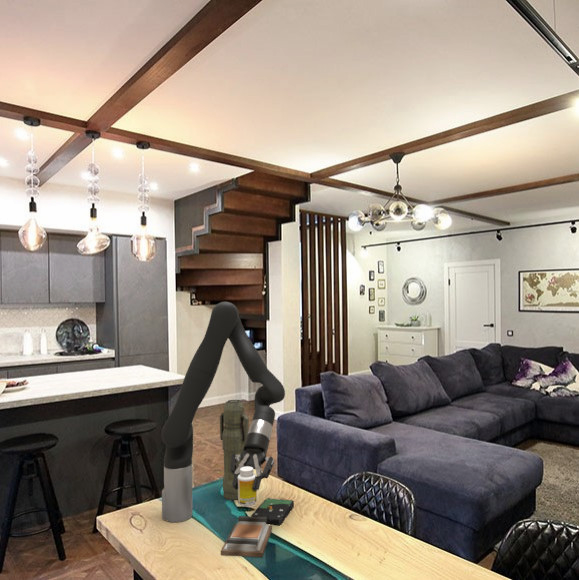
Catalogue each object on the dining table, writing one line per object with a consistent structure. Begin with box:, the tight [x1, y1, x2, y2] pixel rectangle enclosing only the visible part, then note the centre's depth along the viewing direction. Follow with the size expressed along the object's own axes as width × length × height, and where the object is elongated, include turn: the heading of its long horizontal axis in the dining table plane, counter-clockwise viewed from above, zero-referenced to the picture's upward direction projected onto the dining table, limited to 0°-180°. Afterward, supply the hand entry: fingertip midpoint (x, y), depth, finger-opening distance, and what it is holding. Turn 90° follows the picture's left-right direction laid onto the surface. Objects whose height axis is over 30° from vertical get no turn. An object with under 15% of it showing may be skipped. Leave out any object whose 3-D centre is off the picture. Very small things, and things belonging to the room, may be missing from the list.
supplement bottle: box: [237, 466, 258, 507], centre depth 139 cm, size 6×6×10 cm
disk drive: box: [250, 497, 295, 527], centre depth 156 cm, size 10×3×15 cm
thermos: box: [219, 399, 250, 502], centre depth 172 cm, size 9×12×35 cm
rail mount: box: [220, 515, 273, 558], centre depth 138 cm, size 12×16×4 cm
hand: (244, 489), depth 137 cm, fingers closed on supplement bottle, 5 cm apart
